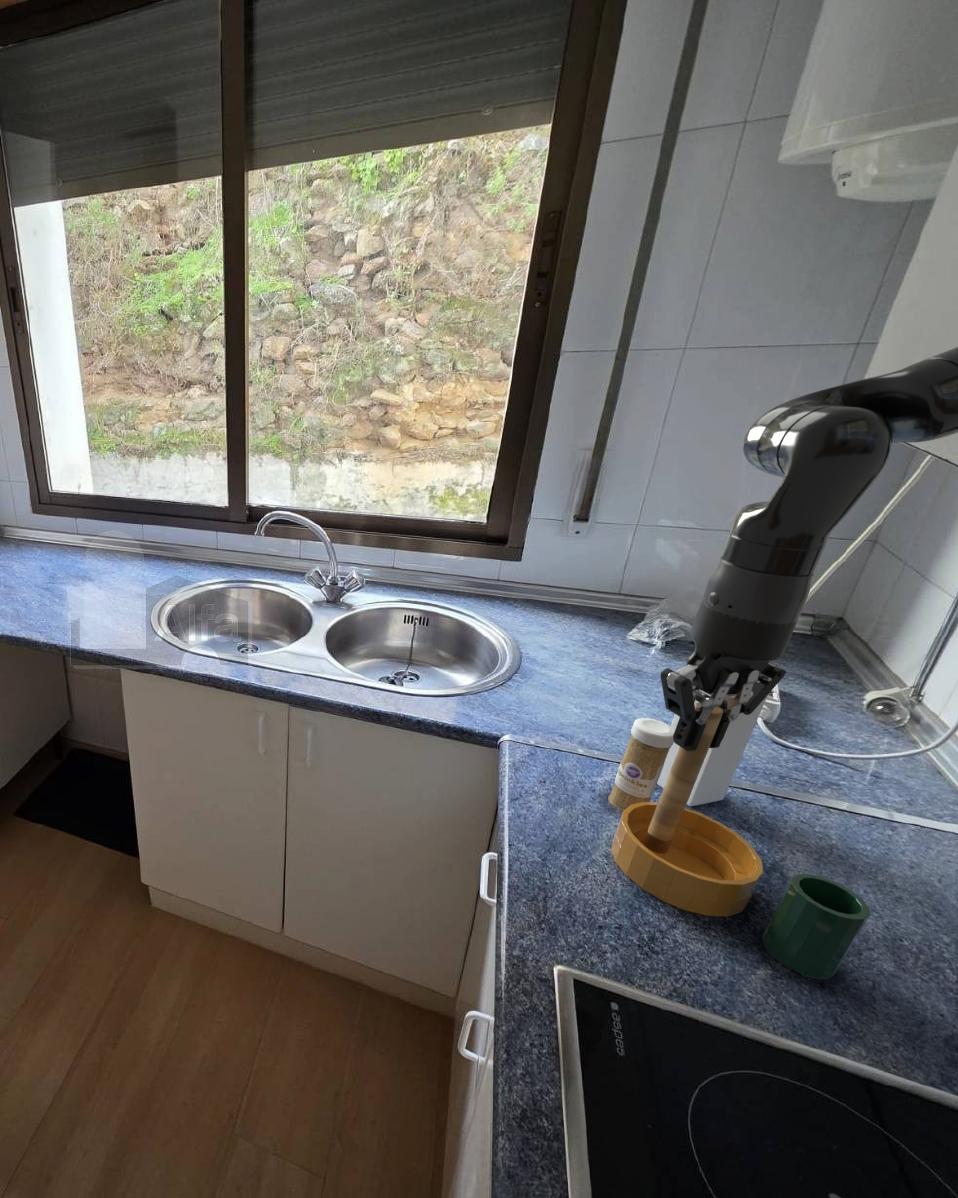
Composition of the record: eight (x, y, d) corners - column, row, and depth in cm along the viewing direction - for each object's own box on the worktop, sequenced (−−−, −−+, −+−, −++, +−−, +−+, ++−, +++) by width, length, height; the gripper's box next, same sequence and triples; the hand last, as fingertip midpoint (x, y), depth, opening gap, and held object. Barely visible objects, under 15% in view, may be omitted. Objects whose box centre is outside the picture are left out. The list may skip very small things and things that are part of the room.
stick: (663, 842, 78) (718, 704, 70) (670, 856, 76) (727, 715, 68) (640, 837, 78) (692, 700, 71) (646, 851, 76) (700, 711, 69)
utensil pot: (814, 943, 68) (849, 882, 65) (845, 990, 63) (884, 926, 60) (750, 928, 70) (780, 867, 66) (775, 972, 65) (809, 909, 62)
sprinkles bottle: (603, 806, 88) (630, 725, 83) (612, 791, 91) (639, 712, 86) (642, 823, 85) (673, 740, 80) (650, 807, 88) (680, 726, 83)
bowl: (718, 850, 81) (733, 816, 78) (768, 935, 69) (786, 898, 67) (598, 824, 85) (609, 792, 83) (627, 901, 74) (640, 865, 71)
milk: (682, 774, 94) (733, 643, 86) (724, 801, 89) (783, 663, 81) (649, 780, 93) (698, 647, 85) (689, 807, 88) (746, 669, 79)
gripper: (727, 626, 60) (671, 773, 67) (847, 615, 62) (781, 759, 69) (658, 596, 67) (613, 732, 74) (768, 587, 69) (715, 720, 76)
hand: (695, 744), depth 71 cm, fingers closed on stick, 2 cm apart
